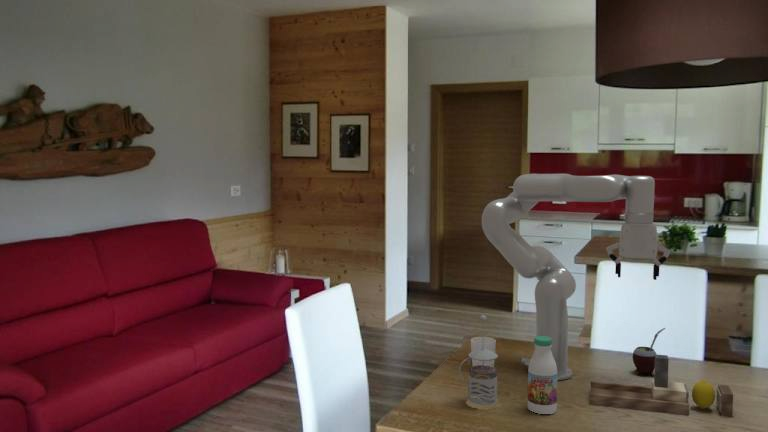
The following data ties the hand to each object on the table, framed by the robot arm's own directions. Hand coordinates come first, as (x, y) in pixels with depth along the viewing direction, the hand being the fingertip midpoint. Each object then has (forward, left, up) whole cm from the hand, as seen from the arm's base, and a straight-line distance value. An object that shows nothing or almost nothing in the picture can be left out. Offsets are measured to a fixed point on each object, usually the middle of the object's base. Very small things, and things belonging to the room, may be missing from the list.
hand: (636, 277), depth 187 cm
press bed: (+1, -11, -33) cm, 35 cm away
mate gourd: (+4, +14, -33) cm, 36 cm away
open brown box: (+22, -11, -33) cm, 41 cm away
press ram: (+9, -11, -31) cm, 34 cm away
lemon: (+17, -11, -33) cm, 39 cm away
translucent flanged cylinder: (-45, +2, -33) cm, 56 cm away
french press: (-41, -25, -33) cm, 58 cm away
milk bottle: (-24, -25, -33) cm, 48 cm away
